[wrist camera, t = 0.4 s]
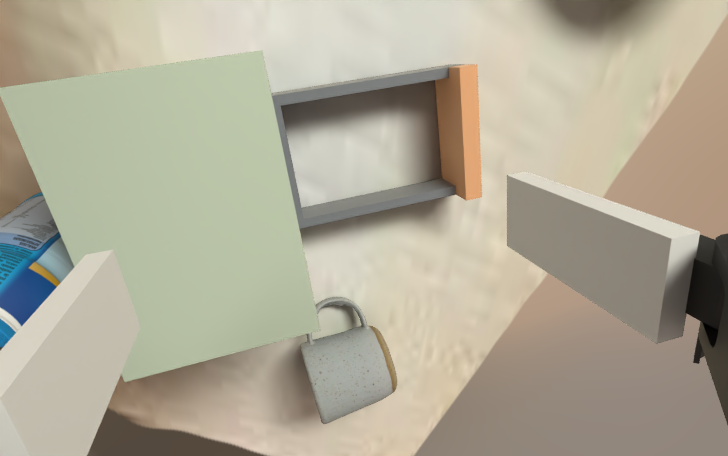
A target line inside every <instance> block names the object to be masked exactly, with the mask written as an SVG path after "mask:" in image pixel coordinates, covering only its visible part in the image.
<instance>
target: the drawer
mask: <svg viewBox="0 0 728 456" xmlns="http://www.w3.org/2000/svg"><path fill="white" fill-rule="evenodd" d="M431 80H435V85H436V100H437V114H438V128H439V142H440V156H441V170H442V178H441V179H436V180H431V181H427V182H422V183H417V184H412V185H408V186H403V187H398V188H394V189H389V190H384V191H379V192H375V193H370V194H365V195H360V196H356V197H351V198H346V199H342V200H337V201H332V202H327V203H323V204H318V205H313V206H308V207H304V208H301V204H300V199H299V194H298V189H297V184H296V179H295V174H294V169H293V164H292V159H291V154H290V149H289V144H288V139H287V135H286V130H285V125H284V120H283V115H282V110H281V106H282V105H288V104H294V103H300V102H306V101H312V100H318V99H324V98H330V97H336V96H342V95H348V94H354V93H360V92H366V91H372V90H378V89H383V88H389V87H395V86H401V85H407V84H413V83H419V82H425V81H431ZM271 95H272V100H273V104H274V109H275V114H276V119H277V124H278V129H279V133H280V138H281V143H282V148H283V153H284V157H285V162H286V167H287V172H288V177H289V181H290V186H291V191H292V196H293V201H294V205H295V210H296V215H297V220H298V225H299V229H301V228H306V227H310V226H315V225H319V224H324V223H328V222H333V221H337V220H342V219H346V218H351V217H356V216H360V215H365V214H369V213H374V212H378V211H383V210H387V209H392V208H396V207H401V206H406V205H410V204H415V203H419V202H424V201H428V200H433V199H437V198H442V197H446V196H451V195H455V194H456V195H458V196H460V197H461V198H463V199H465V200H471V199H475V198H480V197H482V185H481V157H480V129H479V101H478V73H477V65H444V66H438V67H432V68H426V69H419V70H413V71H407V72H401V73H395V74H388V75H382V76H376V77H370V78H363V79H357V80H351V81H345V82H339V83H332V84H326V85H320V86H314V87H308V88H301V89H295V90H289V91H283V92H277V93H271Z"/></svg>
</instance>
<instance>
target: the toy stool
mask: <svg viewBox="0 0 728 456" xmlns="http://www.w3.org/2000/svg"><path fill="white" fill-rule="evenodd" d="M0 97H1V99H2V101H3V103H4V106H5V108H6V110H7V113H8V115H9V117H10V120H11V122H12V124H13V126H14V129H15V131H16V133H17V136H18V138H19V140H20V143H21V145H22V147H23V149H24V152H25V154H26V156H27V159H28V161H29V163H30V166H31V168H32V170H33V172H34V175H35V177H36V179H37V182H38V184H39V186H40V189H41V191H42V193H43V195H44V198H45V200H46V202H47V205H48V207H49V209H50V212H51V214H52V216H53V218H54V221H55V223H56V225H57V228H58V230H59V232H60V235H61V237H62V239H63V241H64V244H65V246H66V248H67V251H68V253H69V255H70V258H71V260H72V262H73V264H74V267H75V266H76V265H77V264H78V263H79V262H80V261H81V259H82V258H83V257H84V256H85V255H86V254H92V253H97V252H102V251H108V250H114V252H115V255H116V258H117V261H118V264H119V267H120V270H121V273H122V275H123V278H124V281H125V284H126V287H127V290H128V293H129V295H130V298H131V301H132V304H133V307H134V310H135V313H136V316H137V318H138V321H139V324H140V330H139V332H138V335H137V337H136V339H135V342H134V344H133V347H132V349H131V351H130V354H129V356H128V359H127V361H126V363H125V366H124V368H123V371H122V373H121V375H122V377H123V380H124V382H128V381H132V380H135V379H139V378H143V377H147V376H150V375H154V374H158V373H162V372H165V371H169V370H173V369H177V368H180V367H184V366H188V365H192V364H196V363H199V362H203V361H207V360H211V359H214V358H218V357H222V356H226V355H229V354H233V353H237V352H241V351H245V350H248V349H252V348H256V347H260V346H263V345H267V344H271V343H275V342H278V341H282V340H286V339H290V338H294V337H297V336H301V335H305V334H309V333H312V332H316V331H320V326H319V321H318V316H317V311H316V306H315V302H314V297H313V292H312V287H311V282H310V278H309V273H308V268H307V263H306V258H305V253H304V249H303V244H302V239H301V234H300V229H299V225H298V220H297V215H296V210H295V205H294V201H293V196H292V191H291V186H290V181H289V177H288V172H287V167H286V162H285V157H284V153H283V148H282V143H281V138H280V133H279V129H278V124H277V119H276V114H275V109H274V104H273V100H272V95H271V90H270V85H269V80H268V76H267V71H266V66H265V61H264V56H263V52H262V50H261V51H254V52H247V53H240V54H233V55H226V56H219V57H212V58H205V59H198V60H191V61H184V62H177V63H170V64H163V65H156V66H149V67H142V68H135V69H128V70H121V71H114V72H107V73H100V74H93V75H86V76H79V77H72V78H65V79H58V80H51V81H44V82H37V83H30V84H23V85H16V86H9V87H2V88H0Z"/></svg>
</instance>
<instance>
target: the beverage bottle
mask: <svg viewBox="0 0 728 456" xmlns="http://www.w3.org/2000/svg"><path fill="white" fill-rule="evenodd" d="M73 268H74V264H73V262H72V260H71V258H70V255H69V253H68V251H67V248H66V246H65V244H64V241H63V239H62V237H61V235H60V232H59V230H58V228H57V225H56V223H55V221H54V218H53V216H52V214H51V212H50V209H49V207H48V205H47V202H46V200H45V198H44V195H43V193H42V192H41V193H38V194H36V195H34V196H32V197H30V198H29V199H27V200H25V201H24V202H23V203H21V204H20V205H19V206H18V207H17V208H16V209H14V210H13V211H11V212H10V213H8V214H7V215H5V216H3V217H2V218H0V347H4V346H5V345H6V344H7V343H8V341H9V340H10V339H11V338H12V337H13V336H14V335H15V334H16V332H17V331H18V330H19V329H20V328H21V327H22V326H23V325H24V323H25V322H26V321H27V320H28V319H29V318H30V317H31V316H32V314H33V313H34V312H35V311H36V310H37V309H38V308H39V307H40V305H41V304H42V303H43V302H44V301H45V300H46V299H47V298H48V297H49V295H50V294H51V293H52V292H53V291H54V290H55V289H56V288H57V286H58V285H59V284H60V283H61V282H62V281H63V280H64V279H65V277H66V276H67V275H68V274H69V273H70V272H71V271H72V270H73Z"/></svg>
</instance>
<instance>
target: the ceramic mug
mask: <svg viewBox="0 0 728 456" xmlns="http://www.w3.org/2000/svg"><path fill="white" fill-rule="evenodd" d="M330 305H339V306H343V305H347V306H351V307H353V308H354V309H355V311H356V312H357V314H358V316H359V318H360V321H361V327H357V328H354V329H350V330H348V331H345V332H342V333H339V334H335V335H331V336H327V337H323V338H319V339H316V340H312V333H309V334H307V339H308V340H307V342H305V343H303V344H301V345H300V348H301V352H302V356H303V360H304V363H305V366H306V370H307V374H308V377H309V380H310V384H311V387H312V391H313V394H314V397H315V401H316V404H317V407H318V410H319V414H320V417H321V421H322V423H323V424H327V423H329V422H332V421H334V420H336V419H338V418H340V417H343V416H345V415H347V414H350V413H352V412H354V411H357V410H359V409H361V408H364V407H366V406H368V405H371V404H373V403H376V402H378V401H380V400H382V399H384V398H386V397H387V396H389V395H390V394H392V393H393V392H394V391H395V389H396V386H397V377H396V372H395V368H394V364H393V361H392V358H391V355H390V352H389V349H388V347H387V344H386V342H385V340H384V338H383V336H382V334H381V333H380V331H379V330H378V329H376V328H375V327H373V326H368V325H367V322H366V319H365V316H364V315H363V312H362V311H361V309H360V308H359V307H358V306H357V305H356V304H355V303H354V302H352V301H351V300H349V299H346V298H342V297H332V298H328V299H325V300H323V301H321V302H319V303H318V304H317V305H316V311H317V314H318V312H319V310H320V309H321V308H322V307H325V306H330Z"/></svg>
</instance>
